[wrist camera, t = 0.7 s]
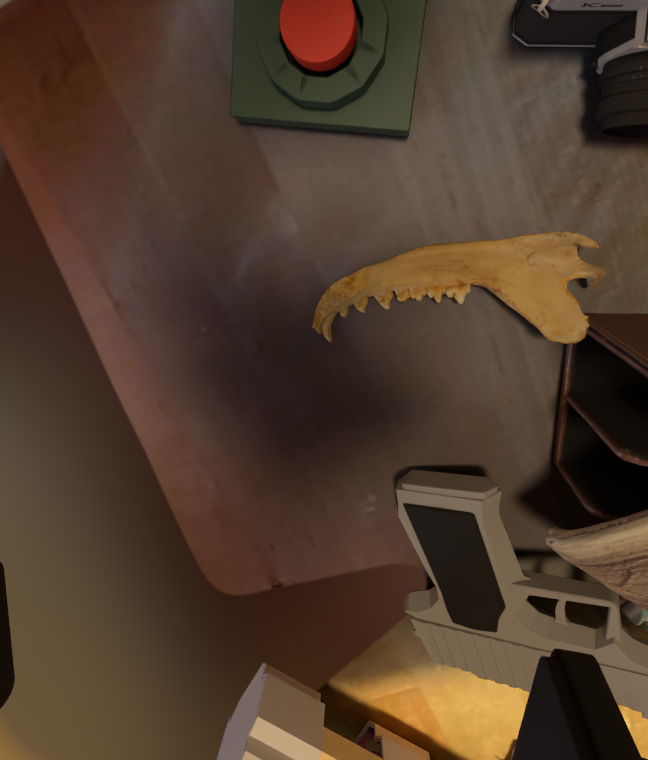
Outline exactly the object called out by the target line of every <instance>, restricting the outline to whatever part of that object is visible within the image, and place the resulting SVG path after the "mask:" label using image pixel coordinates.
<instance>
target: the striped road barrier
mask: <svg viewBox="0 0 648 760" xmlns="http://www.w3.org/2000/svg"><path fill="white" fill-rule="evenodd" d="M320 700H321V693H319V692H317V691H315V690H313V689H312V688H310V687H308V686H306V685H304V684H302V683H301V682H299V681H297V680H295V679H293V678H291V677H290V676H288V675H286V674H284V673H282V672H280V671H279V670H277V669H275V668H273V667H271V666H269V665H268V664H266V663H263V664H262V665H261V667H260V668H259V670H258V672H257V673H256V675H255V676H254V678H253V680H252V681H251V683H250V684H249V686H248V687H247V689H246V691H245V692H244V694H243V695H242V697H241V699H240V701H239V702H238V704H237V707H236V709H235V711H234V713H233V715H232V717H231V716H230V717H229V719H228V722H227V726H226V729H225V732H224V736H223V739H222V743H221V746H220V750H219V753H218V757H217V760H430V756H429V752H427V751H425V750H423V749H421V748H420V747H418V746H416V745H414V744H412V743H410V742H409V741H407V740H405V739H403V738H401V737H399V736H398V735H396V734H394V733H392V732H390V731H388V730H387V729H385V728H383V727H381V726H379V725H377V724H376V723H373V722H371V721H368V722H367V724H366V725H365V727H364V728H363V730H362V731H361V732H360V734H359V735H358V737H357V738H356V740H355V741H354V743H353V742H351V741H349V740H347V739H346V738H344V737H342V736H340V735H338V734H336V733H335V732H333V731H331V730H329V729H327V728H325V727H324V714H325V704H324V703H322V702H320ZM514 749H515V747H514ZM514 749H513V751H512V756H513V753H514ZM510 760H512V757H511V759H510Z"/></svg>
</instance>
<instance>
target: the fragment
mask: <svg viewBox="0 0 648 760" xmlns="http://www.w3.org/2000/svg"><path fill="white" fill-rule="evenodd" d="M546 544H547V545H548V546H549V547H551V548H552V549H553V550H554V551H555V552H557V553H558V554H559V555H560V556H561V557H562V558H563V559H564V560H566V561H568V562H569V563H571V564H573V565H575V566H576V567H578V568H580V569H582V570H583V571H585V572H586V573H588V574H589V575H591V576H592V577H594V578H595V579H597V580H598V581H599V582H601V583H602V584H603V585H605V586H606V587H608V588H609V589H610V590H612V591H614V592H616V593H617V594H619V595H621V596H622V597H624V598H626V599H627V600H629V601H631V602H633V603H634V604H636V605H638V606H640V607H642V608H643V609H645V610H647V611H648V509H647V510H644V511H641V512H638V513H635V514H632V515H629V516H625V517H622V518H619V519H615V520H612V521H608V522H604V523H600V524H596V525H593V526H590V527H585V528H580V529H575V530H566V529H562V528H559V527H552V528H550V529H549V531H548V534H547V536H546Z"/></svg>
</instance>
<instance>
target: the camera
mask: <svg viewBox="0 0 648 760" xmlns="http://www.w3.org/2000/svg"><path fill="white" fill-rule="evenodd" d="M512 17H515V18H514V26H513V33H512V36H513V37H515V38H516V39H517V40H519V41H520V42H521V43H523V44H524V45H525V46H541V47H595V57H594V62H593V63H591V64H590V67H593V69H595V70H596V72H597V73H598V74H600V76H599V82H598V86H599V87H600V88H601V93H602V99H601V101H599V102H598V105H597V111H596V117H595V120H596V121H597V122H600V123H601V128H600V133H601V134H603V135H608V136H615V137H634V138H643V137H648V0H517V2H516V8H515V9H514V11H513V14H512Z"/></svg>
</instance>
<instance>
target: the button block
mask: <svg viewBox="0 0 648 760" xmlns="http://www.w3.org/2000/svg"><path fill="white" fill-rule="evenodd" d="M283 1H284V0H235V11H234V36H233V62H232V87H231V112H230V115H231V116H232V117H234V118H235V119H237V120H238V121H240V122H243V123H254V124H266V125H277V126H289V127H300V128H311V129H323V130H334V131H346V132H357V133H369V134H380V135H392V136H403V137H408V136H409V130H410V123H411V115H412V108H413V100H414V93H415V85H416V77H417V70H418V62H419V55H420V47H421V40H422V32H423V25H424V17H425V9H426V2H427V0H352V2H353V5H354V10H355V15H356V20H357V38H356V42H355V45H354V48H353V50H352V52H351V54H350V55H349V56H348V58H347V59H346V60H345V61H344V62H343V63H342V64H341V65H339V66H338V67H336V68H334V69H332V70H329V71H324V72H317V71H312V70H309V69H307V68H305V67H303V66H302V65H301V64H300V63H298V62H297V61H296V59H295V58H294V57H293V55H292V54H291V52H290V51H289V49H288V47H287V46H286V44H285V42H284V40H283V38H282V35H281V30H280V11H281V7H282V4H283Z"/></svg>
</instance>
